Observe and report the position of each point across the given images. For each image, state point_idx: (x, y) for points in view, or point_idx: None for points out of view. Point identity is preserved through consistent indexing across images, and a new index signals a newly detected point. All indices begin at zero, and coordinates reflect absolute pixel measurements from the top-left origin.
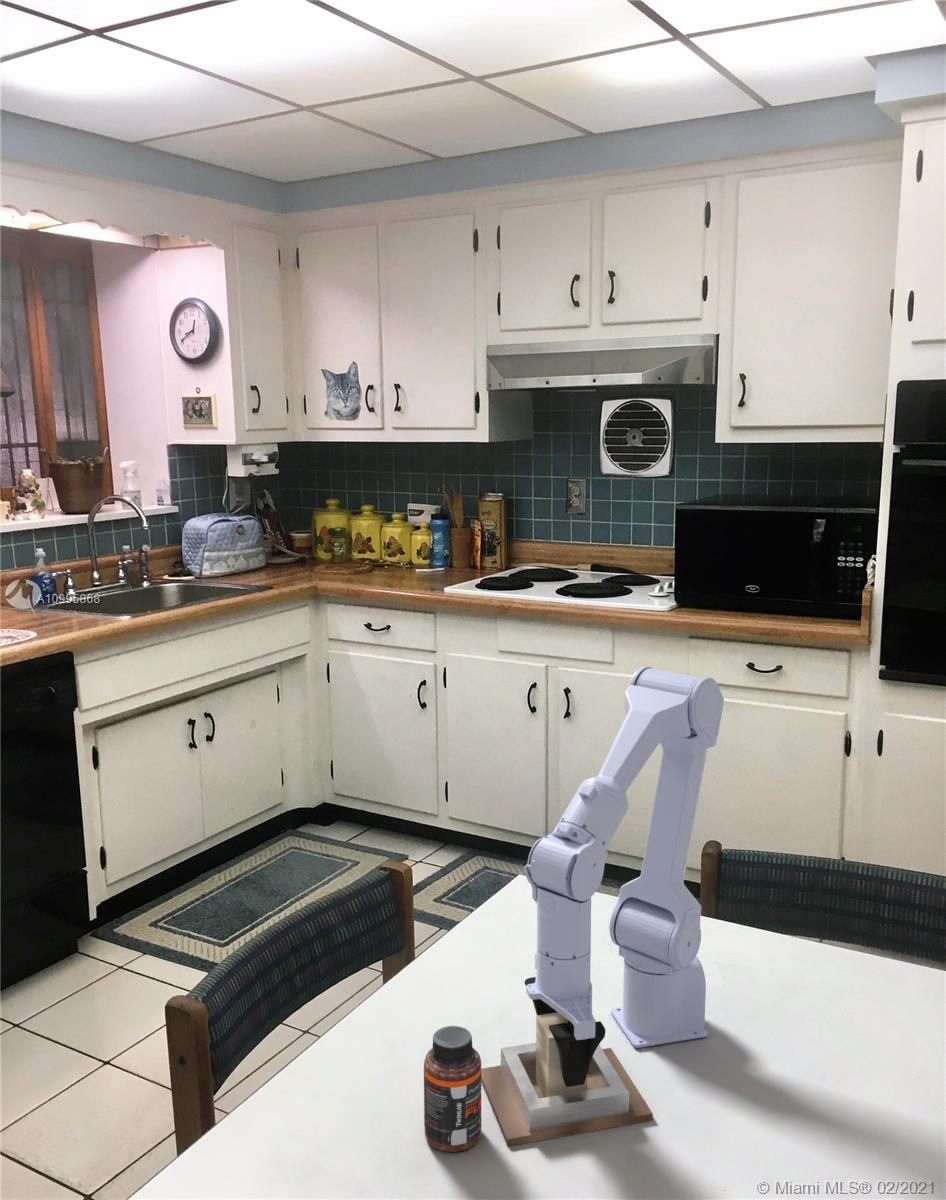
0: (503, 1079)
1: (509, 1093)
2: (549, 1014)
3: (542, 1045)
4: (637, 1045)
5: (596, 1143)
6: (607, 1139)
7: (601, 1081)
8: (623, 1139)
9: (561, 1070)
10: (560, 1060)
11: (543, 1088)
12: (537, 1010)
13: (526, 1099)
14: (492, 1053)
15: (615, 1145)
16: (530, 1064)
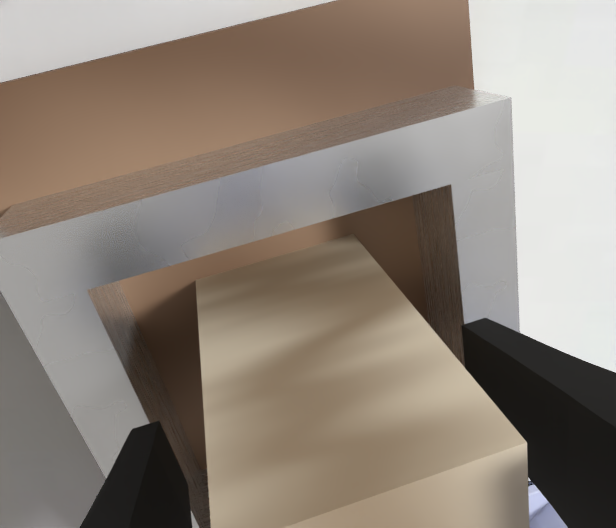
0: (378, 95)
1: (280, 120)
2: (518, 516)
3: (327, 394)
4: None
5: (43, 420)
6: (71, 448)
7: None
8: (78, 488)
9: (138, 469)
10: (120, 525)
11: (261, 278)
12: (604, 420)
13: (69, 230)
14: (580, 49)
15: (43, 470)
16: (428, 224)
